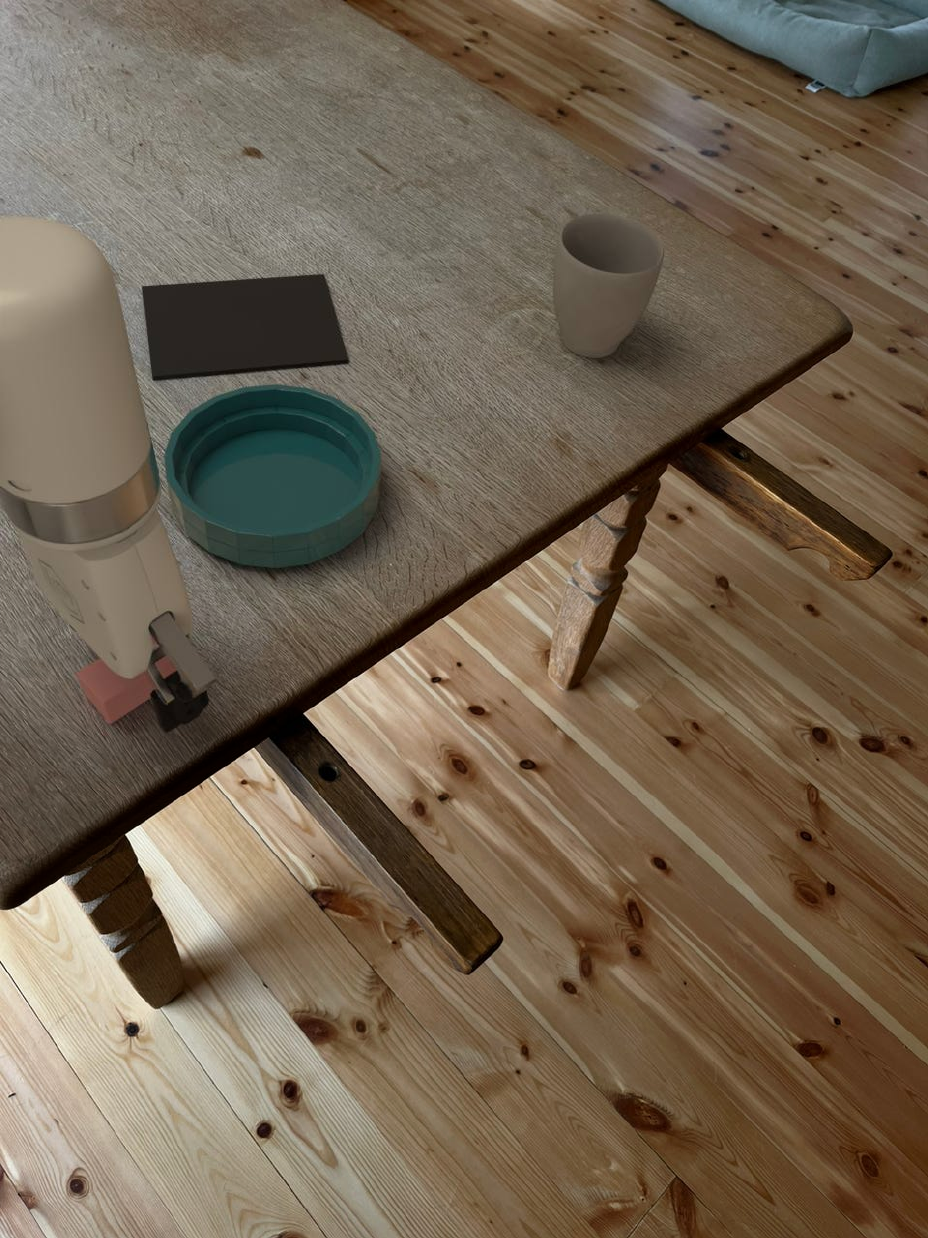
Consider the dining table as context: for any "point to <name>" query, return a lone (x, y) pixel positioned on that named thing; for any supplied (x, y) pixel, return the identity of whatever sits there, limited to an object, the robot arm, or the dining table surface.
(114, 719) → the eraser
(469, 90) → the dining table surface
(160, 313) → the mat
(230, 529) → the bowl
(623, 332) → the mug
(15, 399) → the robot arm
